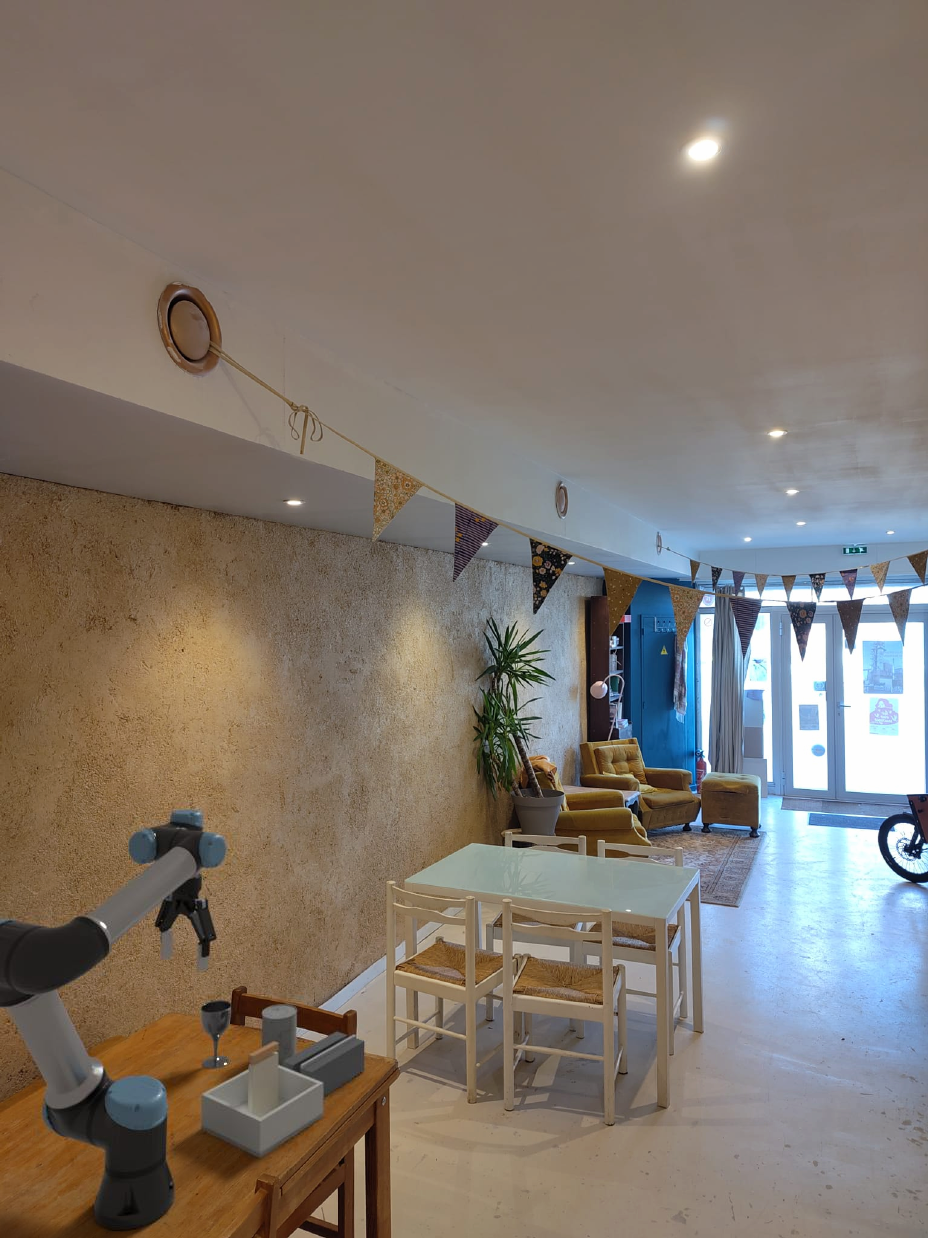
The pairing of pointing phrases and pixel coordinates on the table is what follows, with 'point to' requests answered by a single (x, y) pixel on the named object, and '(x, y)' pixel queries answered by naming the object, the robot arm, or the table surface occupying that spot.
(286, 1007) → the grey cylinder
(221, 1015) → the wine glass
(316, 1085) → the bin
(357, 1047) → the dispenser
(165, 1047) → the table surface
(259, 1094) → the cream flat board
